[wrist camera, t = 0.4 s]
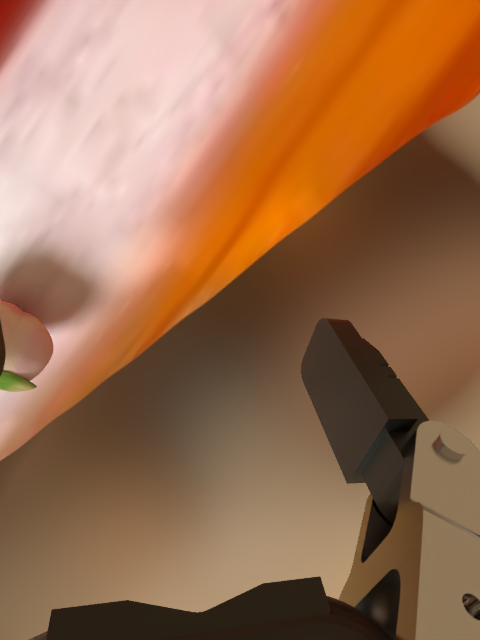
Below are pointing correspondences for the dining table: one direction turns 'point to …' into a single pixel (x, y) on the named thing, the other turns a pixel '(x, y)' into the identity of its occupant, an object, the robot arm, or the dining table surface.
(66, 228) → the dining table surface
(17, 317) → the decorative fruit
